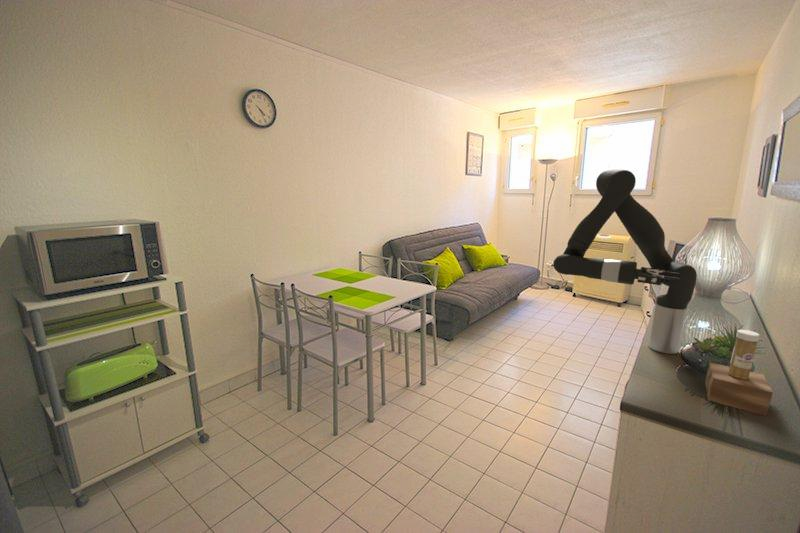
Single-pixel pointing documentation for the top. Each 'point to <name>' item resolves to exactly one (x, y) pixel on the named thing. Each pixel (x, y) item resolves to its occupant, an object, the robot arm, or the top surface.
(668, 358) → the top surface
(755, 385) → the block
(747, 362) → the sprinkles bottle
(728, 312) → the top surface
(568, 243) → the robot arm
